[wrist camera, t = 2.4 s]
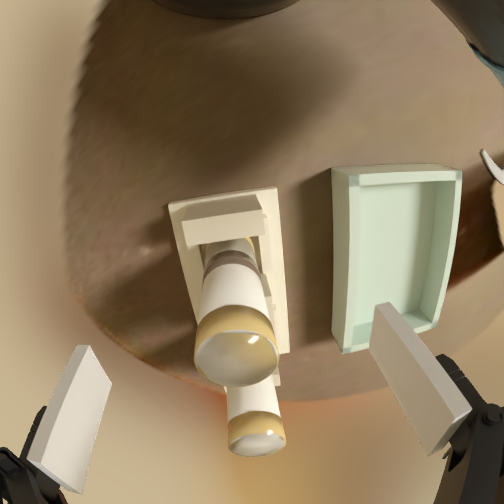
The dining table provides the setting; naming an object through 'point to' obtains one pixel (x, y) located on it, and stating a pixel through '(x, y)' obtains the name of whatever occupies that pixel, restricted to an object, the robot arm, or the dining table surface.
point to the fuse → (254, 420)
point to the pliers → (493, 167)
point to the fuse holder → (234, 227)
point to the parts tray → (391, 245)
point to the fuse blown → (234, 318)
